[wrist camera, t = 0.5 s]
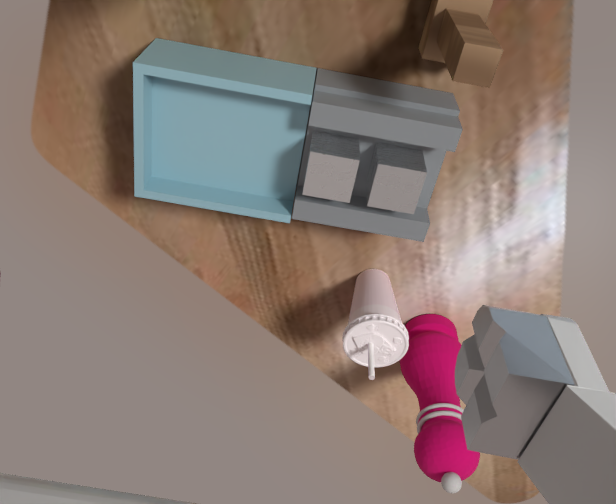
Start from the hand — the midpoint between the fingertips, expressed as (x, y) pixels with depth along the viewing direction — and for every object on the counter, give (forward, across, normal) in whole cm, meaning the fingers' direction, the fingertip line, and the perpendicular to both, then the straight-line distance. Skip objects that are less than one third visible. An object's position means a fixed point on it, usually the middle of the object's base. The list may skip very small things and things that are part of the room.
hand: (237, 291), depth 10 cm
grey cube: (+39, -9, +16) cm, 43 cm away
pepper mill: (+43, -19, +38) cm, 60 cm away
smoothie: (+43, -11, +32) cm, 55 cm away
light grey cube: (+39, -4, +16) cm, 42 cm away
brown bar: (+43, -11, +4) cm, 44 cm away
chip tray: (+43, +6, +16) cm, 46 cm away
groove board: (+43, -7, +16) cm, 46 cm away
